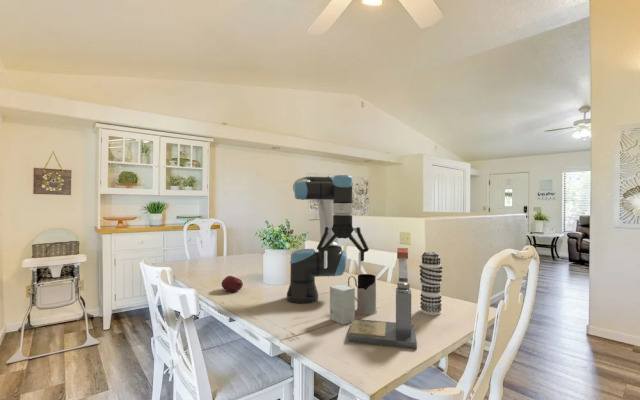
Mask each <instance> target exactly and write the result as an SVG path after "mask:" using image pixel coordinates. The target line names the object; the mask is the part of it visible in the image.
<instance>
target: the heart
mask: <svg viewBox="0 0 640 400" xmlns="http://www.w3.org/2000/svg"><path fill="white" fill-rule="evenodd" d="M243 286H244V283H243V280H241V278H238V277H235V276H232V275H227V276H226V277H224V278H223V280H222V281H221V287H222V289H224V290H225V291H226V292H229V293H235V291H236V292H238V291H240V290H241V289H242V288H243Z"/></svg>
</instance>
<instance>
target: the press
mask: <svg viewBox="0 0 640 400" xmlns="http://www.w3.org/2000/svg"><path fill="white" fill-rule="evenodd" d="M416 335H417V334H416V327H415V324H414V323H412V290H411V288H410V290H397V287H396V288H395V322H392V321H381V320H369V319H359V318H355V319H354V320H353V322H351V325H350V327H349V330H348V335H347V342H348V343H352V342H353V344H365V345H372V346H373V345H374V346H382V347H391V348H400V349H401V348H403V349H410V350H411V349H412V350H417V349H418V342H417V336H416Z"/></svg>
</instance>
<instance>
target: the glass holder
mask: <svg viewBox="0 0 640 400" xmlns="http://www.w3.org/2000/svg"><path fill="white" fill-rule="evenodd" d="M376 277H377V276H376V275H374V274H369V273H364V274H363V273H361V274H358V275H357V278H356V277H355V276H353V275H350V276H349V277H348V279H347V286H349V287H351V286H350V279H351V278H353V279H354V282H355V283H354V285H355V287H356V289H357V290H356V291H357V295H356V296H357V297H356V296H355V302H357V303H356V309H355V313H357V314H359V315H364V316H372V315H376V314H377V313H378V310H377V283H376Z"/></svg>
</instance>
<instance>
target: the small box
mask: <svg viewBox="0 0 640 400" xmlns="http://www.w3.org/2000/svg"><path fill="white" fill-rule="evenodd" d="M355 289H356V288H355V287H351V286H350V287H349V286H348V285H345V284H341V283H340V284H336V285H332V286H329V320H331V321H333V322H335V323H338V324H341V325H343V326H344V325H346V324H352V322H353V320H354V319H356V316H355V315H356V300H355V297H356V292H355V291H356V290H355Z"/></svg>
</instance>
